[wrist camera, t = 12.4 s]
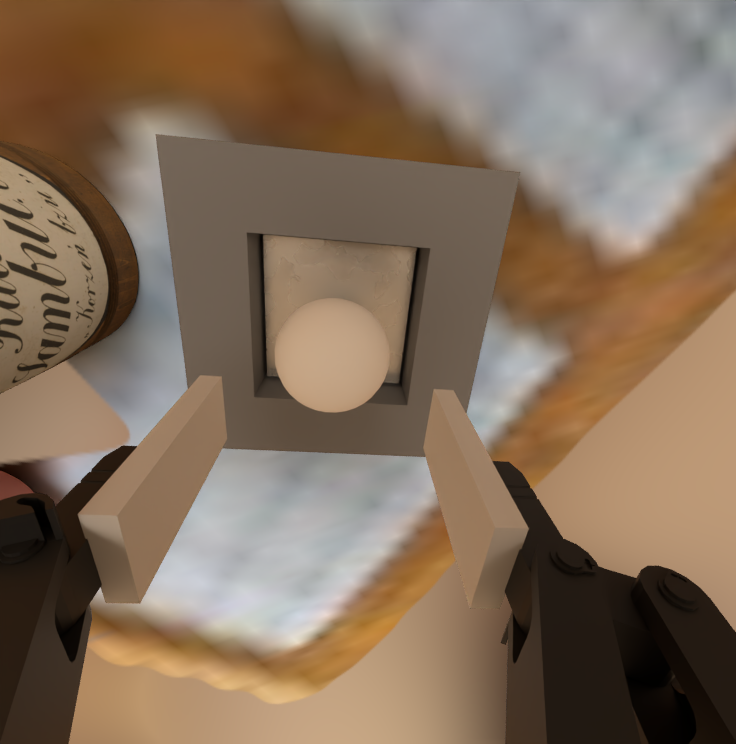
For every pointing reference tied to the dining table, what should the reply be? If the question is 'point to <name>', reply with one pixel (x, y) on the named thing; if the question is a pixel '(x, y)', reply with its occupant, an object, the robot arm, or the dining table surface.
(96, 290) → the wooden container
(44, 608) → the robot arm
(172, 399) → the dining table surface
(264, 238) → the tan square tile
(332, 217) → the socket block
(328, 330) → the lightbulb
